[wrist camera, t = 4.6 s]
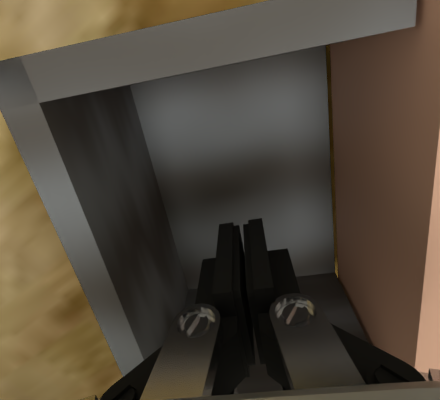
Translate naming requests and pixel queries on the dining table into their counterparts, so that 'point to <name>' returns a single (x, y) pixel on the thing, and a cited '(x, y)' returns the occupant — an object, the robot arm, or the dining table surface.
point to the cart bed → (189, 155)
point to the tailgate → (390, 184)
